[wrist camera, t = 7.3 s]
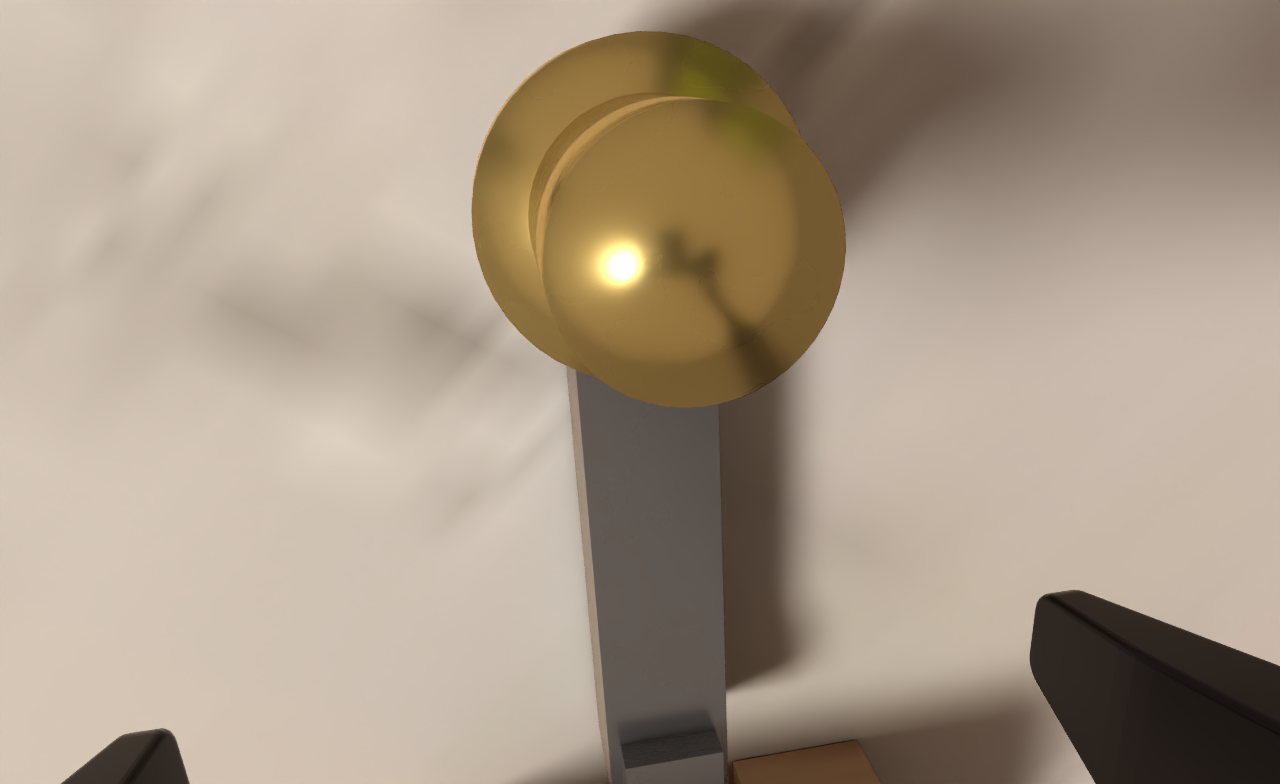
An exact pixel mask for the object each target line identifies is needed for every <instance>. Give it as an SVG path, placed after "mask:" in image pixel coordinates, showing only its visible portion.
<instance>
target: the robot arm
mask: <svg viewBox="0 0 1280 784" xmlns="http://www.w3.org/2000/svg"><path fill="white" fill-rule="evenodd" d="M1030 666H1031V670H1032V673H1033V675H1034V678H1035V680H1036V682H1037V684H1038V685H1039V687H1040V689H1041V691H1042V692H1043V694H1044V696H1045V697H1046V699H1047V701H1048V703H1049V704H1050V706H1051V708H1052V709H1053V711H1054V713H1055V715H1056V716H1057V718H1058V720H1059V721H1060V723H1061V725H1062V727H1063V728H1064V730H1065V732H1066V733H1067V735H1068V737H1069V739H1070V740H1071V742H1072V744H1073V745H1074V747H1075V749H1076V751H1077V752H1078V754H1079V756H1080V758H1081V759H1082V761H1083V763H1084V764H1085V766H1086V768H1087V770H1088V771H1089V773H1090V775H1091V776H1092V778H1093V780H1094V782H1095V783H1096V784H1280V666H1278V665H1276V664H1273V663H1271V662H1268V661H1265V660H1263V659H1260V658H1257V657H1255V656H1252V655H1249V654H1247V653H1244V652H1242V651H1239V650H1236V649H1234V648H1231V647H1228V646H1226V645H1223V644H1220V643H1218V642H1215V641H1212V640H1210V639H1207V638H1205V637H1202V636H1199V635H1197V634H1194V633H1191V632H1189V631H1186V630H1183V629H1181V628H1178V627H1176V626H1173V625H1170V624H1168V623H1165V622H1162V621H1160V620H1157V619H1154V618H1152V617H1149V616H1147V615H1144V614H1141V613H1139V612H1136V611H1133V610H1131V609H1128V608H1125V607H1123V606H1120V605H1117V604H1115V603H1112V602H1110V601H1107V600H1104V599H1102V598H1099V597H1096V596H1094V595H1091V594H1088V593H1086V592H1083V591H1080V590H1069V591H1062V592H1056V593H1049V594H1045V595H1043V596H1042V597H1041V598H1040V599H1039V600H1038V602H1037V605H1036V610H1035V617H1034V625H1033V633H1032V640H1031V648H1030ZM61 784H190V783H189V780H188V777H187V774H186V770H185V767H184V764H183V760H182V757H181V754H180V751H179V747H178V744H177V741H176V739H175V737H174V735H173V734H172V732H171V731H169V730H167V729H164V728H161V729H154V730H147V731H141V732H134V733H129V734H125V735H122V736H120V737H119V738H117V739H116V740H115V741H113V742H112V743H111V744H110V745H108V746H107V747H106V748H105V749H103V750H102V751H101V752H100V753H98V754H97V755H96V756H95V757H93V758H92V759H91V760H90V761H88V762H87V763H86V764H85V765H84V766H82V767H81V768H80V769H79V770H77V771H76V772H75V773H74V774H72V775H71V776H70V777H69V778H67V779H66V780H65V781H64V782H62V783H61Z"/></svg>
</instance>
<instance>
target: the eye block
mask: <svg viewBox="0 0 1280 784" xmlns="http://www.w3.org/2000/svg"><path fill="white" fill-rule="evenodd" d="M733 784H881V782H880V780H879V779H878V777H877V775H876V773H875V771H874V770H873V768H872V766H871V764H870V763H869V761H868V759H867V757H866V755H865V754H864V752H863V750H862V748H861V747H860V745H859V743H858V741H857V740H853V741H848V742H842V743H836V744H831V745H825V746H819V747H814V748H808V749H802V750H797V751H791V752H785V753H780V754H774V755H768V756H763V757H757V758H751V759H746V760H740V761H734V762H733Z"/></svg>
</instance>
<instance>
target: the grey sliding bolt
mask: <svg viewBox="0 0 1280 784" xmlns="http://www.w3.org/2000/svg"><path fill="white" fill-rule="evenodd" d="M472 226H473V237H474V242H475V247H476V252H477V257H478V260H479V263H480V266H481V269H482V272H483V275H484V278H485V280H486V282H487V284H488V286H489V288H490V290H491V293H492V295H493V297H494V299H495V300H496V302H497V303H498V305H499V306H500V308H501V309H502V311H503V312H504V314H505V315H506V317H507V318H508V319H509V320H510V321H511V323H512V324H513V325H514V326H515V327H516V328H517V329H518V331H519V332H520V333H521V334H522V335H523V336H524V337H525V338H527V339H528V340H529V341H530V342H531V343H532V344H533V345H535V346H536V347H537V348H538V349H540V350H541V351H543V352H544V353H546V354H547V355H549V356H550V357H551V358H553V359H554V360H556V361H558V362H560V363H562V364H564V365H566V368H567V379H568V390H569V401H570V412H571V423H572V434H573V445H574V456H575V467H576V478H577V489H578V500H579V511H580V522H581V533H582V544H583V555H584V566H585V577H586V588H587V599H588V610H589V621H590V632H591V643H592V654H593V665H594V676H595V687H596V698H597V709H598V720H599V728H600V734H601V740H602V745H603V751H604V756H605V762H606V767H607V773H608V779H609V784H728V762H727V721H726V681H725V641H724V601H723V561H722V520H721V480H720V440H719V404H721V403H725V402H728V401H731V400H734V399H738V398H740V397H743V396H745V395H747V394H749V393H752V392H754V391H756V390H758V389H760V388H761V387H763V386H765V385H766V384H768V383H770V382H771V381H773V380H774V379H776V378H777V377H778V376H780V375H781V374H782V373H784V372H785V371H786V370H788V369H789V368H790V367H791V366H792V365H793V364H794V363H795V362H796V361H797V360H798V359H799V358H800V357H801V356H802V355H803V354H804V353H805V351H806V350H807V349H808V348H809V346H810V345H811V344H812V343H813V342H814V340H815V339H816V337H817V336H818V334H819V333H820V331H821V329H822V328H823V326H824V325H825V323H826V321H827V319H828V317H829V315H830V313H831V311H832V308H833V306H834V303H835V301H836V298H837V295H838V292H839V289H840V285H841V280H842V276H843V271H844V263H845V253H846V241H845V226H844V220H843V214H842V209H841V206H840V202H839V199H838V196H837V192H836V190H835V188H834V185H833V183H832V181H831V179H830V177H829V174H828V173H827V171H826V169H825V168H824V166H823V165H822V163H821V162H820V160H819V158H818V157H817V156H816V154H815V153H814V152H813V151H812V150H811V149H810V147H809V146H808V145H807V144H806V143H805V142H804V141H803V139H802V137H801V135H800V133H799V130H798V128H797V126H796V124H795V122H794V120H793V118H792V116H791V114H790V113H789V111H788V110H787V108H786V107H785V105H784V103H783V102H782V100H781V99H780V97H779V96H778V95H777V94H776V93H775V92H774V90H773V89H772V88H771V87H770V86H769V84H768V83H767V82H766V81H765V80H764V79H763V78H762V77H761V76H759V75H758V74H757V73H756V72H755V71H754V70H753V69H752V68H751V67H749V66H748V65H747V64H745V63H744V62H742V61H741V60H739V59H738V58H736V57H735V56H733V55H732V54H730V53H729V52H727V51H724V50H722V49H720V48H718V47H716V46H714V45H712V44H710V43H708V42H705V41H701V40H698V39H695V38H692V37H689V36H685V35H679V34H673V33H667V32H647V31H637V32H629V33H621V34H614V35H610V36H607V37H603V38H600V39H596V40H592V41H589V42H585V43H583V44H580V45H578V46H576V47H573V48H571V49H569V50H567V51H564V52H562V53H561V54H559V55H557V56H556V57H554V58H553V59H551V60H549V61H548V62H546V63H544V64H543V65H542V66H541V67H539V68H538V69H537V70H536V71H535V72H533V73H532V74H531V75H530V76H528V77H527V78H526V79H525V80H524V81H523V82H522V83H521V84H520V86H519V87H518V88H517V89H516V90H515V91H514V92H513V93H512V94H511V95H510V97H509V98H508V99H507V101H506V102H505V104H504V105H503V107H502V108H501V110H500V111H499V112H498V114H497V115H496V117H495V119H494V121H493V123H492V125H491V127H490V129H489V131H488V133H487V135H486V137H485V140H484V143H483V146H482V149H481V152H480V154H479V157H478V162H477V167H476V172H475V176H474V184H473V197H472Z"/></svg>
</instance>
